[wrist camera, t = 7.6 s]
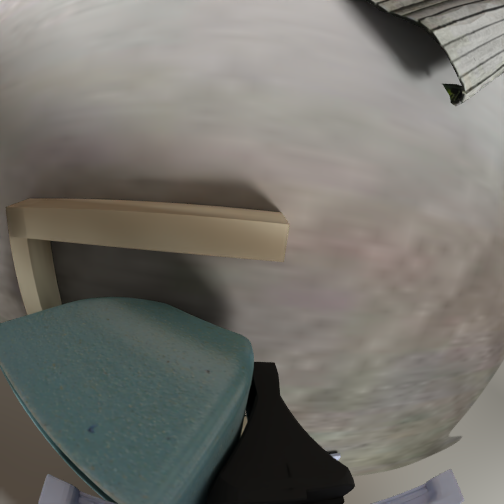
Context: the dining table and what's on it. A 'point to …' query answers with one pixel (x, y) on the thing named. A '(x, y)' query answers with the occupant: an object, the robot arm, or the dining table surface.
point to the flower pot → (132, 394)
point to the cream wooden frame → (132, 235)
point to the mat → (459, 37)
